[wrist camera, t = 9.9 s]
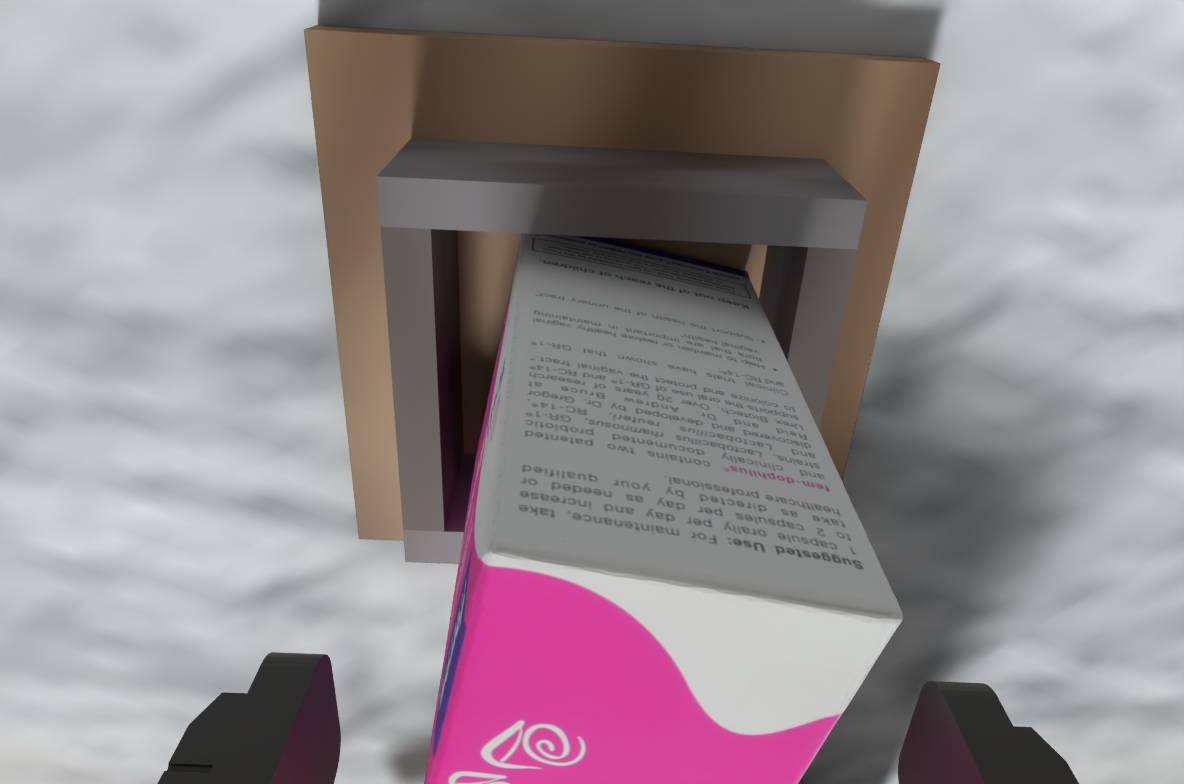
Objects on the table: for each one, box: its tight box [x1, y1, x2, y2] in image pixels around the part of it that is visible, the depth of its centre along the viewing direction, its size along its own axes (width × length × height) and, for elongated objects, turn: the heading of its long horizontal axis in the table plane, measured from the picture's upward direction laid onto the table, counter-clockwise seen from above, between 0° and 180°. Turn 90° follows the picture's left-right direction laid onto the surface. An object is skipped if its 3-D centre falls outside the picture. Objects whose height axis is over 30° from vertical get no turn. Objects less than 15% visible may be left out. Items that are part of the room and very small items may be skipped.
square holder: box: [304, 25, 940, 564], centre depth 20 cm, size 14×14×4 cm
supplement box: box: [424, 233, 903, 784], centre depth 16 cm, size 6×6×12 cm
